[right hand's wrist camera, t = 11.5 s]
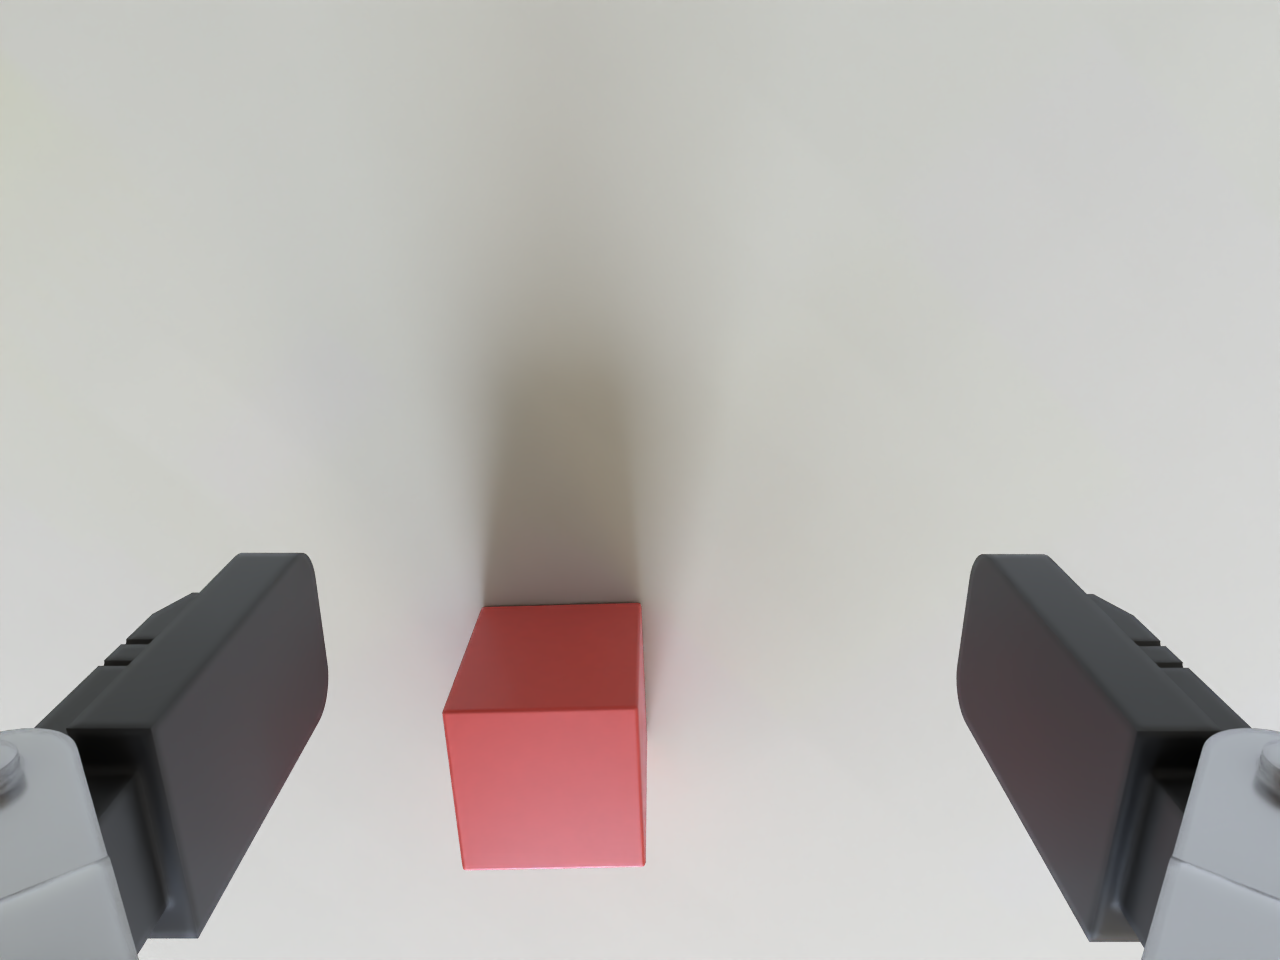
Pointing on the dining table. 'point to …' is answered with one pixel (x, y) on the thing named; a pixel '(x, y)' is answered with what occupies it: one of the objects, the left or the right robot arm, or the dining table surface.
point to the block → (550, 738)
